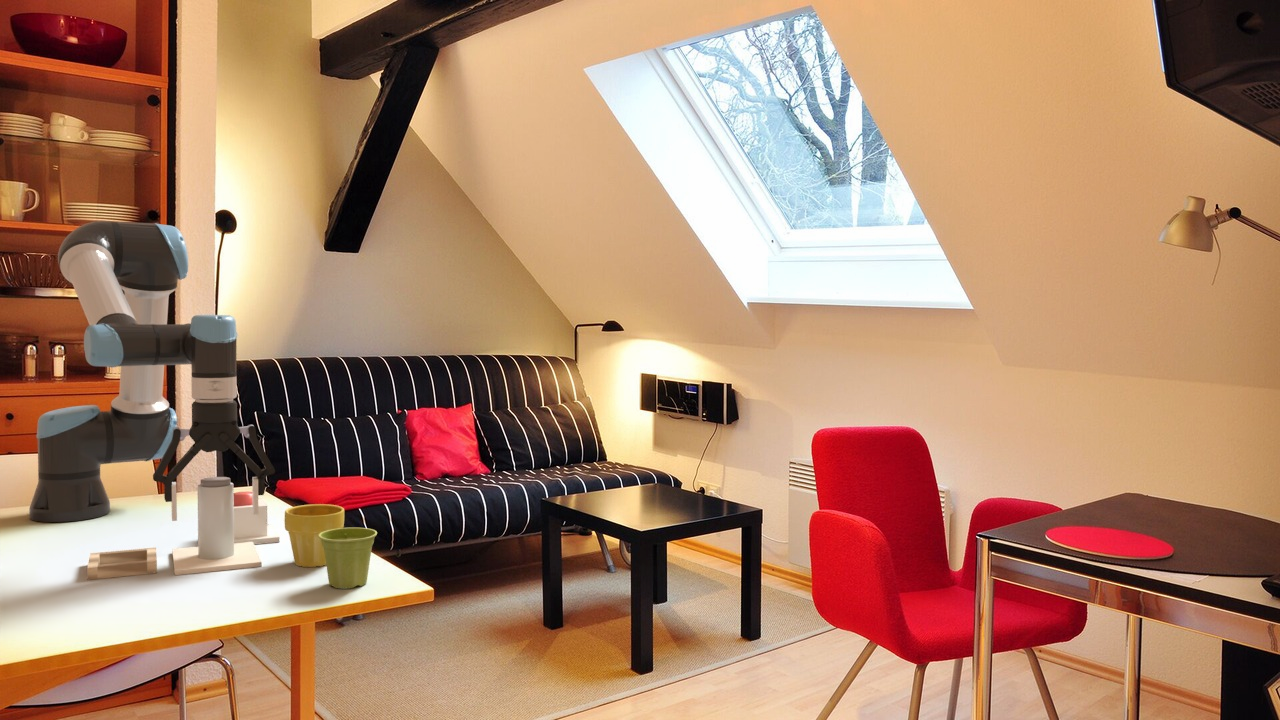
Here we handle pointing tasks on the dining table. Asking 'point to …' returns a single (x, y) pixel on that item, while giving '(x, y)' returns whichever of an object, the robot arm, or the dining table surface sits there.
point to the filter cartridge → (215, 518)
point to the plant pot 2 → (347, 555)
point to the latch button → (243, 499)
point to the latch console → (253, 525)
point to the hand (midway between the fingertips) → (215, 516)
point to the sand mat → (191, 563)
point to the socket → (122, 563)
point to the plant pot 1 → (311, 531)
